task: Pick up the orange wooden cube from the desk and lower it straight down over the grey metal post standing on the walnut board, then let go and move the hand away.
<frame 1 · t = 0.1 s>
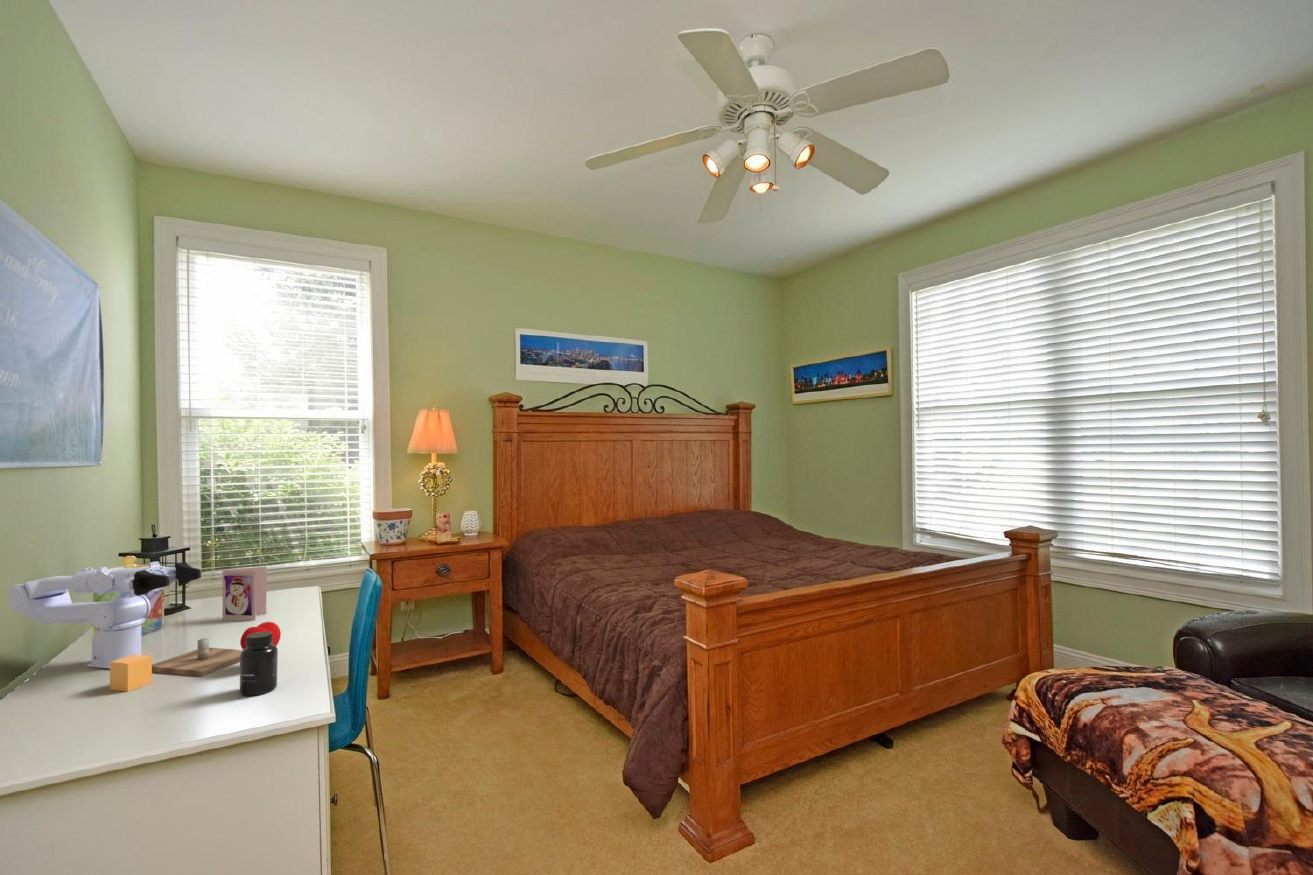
hand: (184, 577, 146), 22 cm above the table, tool horizontal, fingers open, 7 cm apart
orange wooden cube: (131, 686, 135), on the table
post board: (203, 663, 149), on the table
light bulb: (260, 667, 147), on the table
greeting card: (246, 617, 190), on the table
supplement bottle: (258, 691, 132), on the table
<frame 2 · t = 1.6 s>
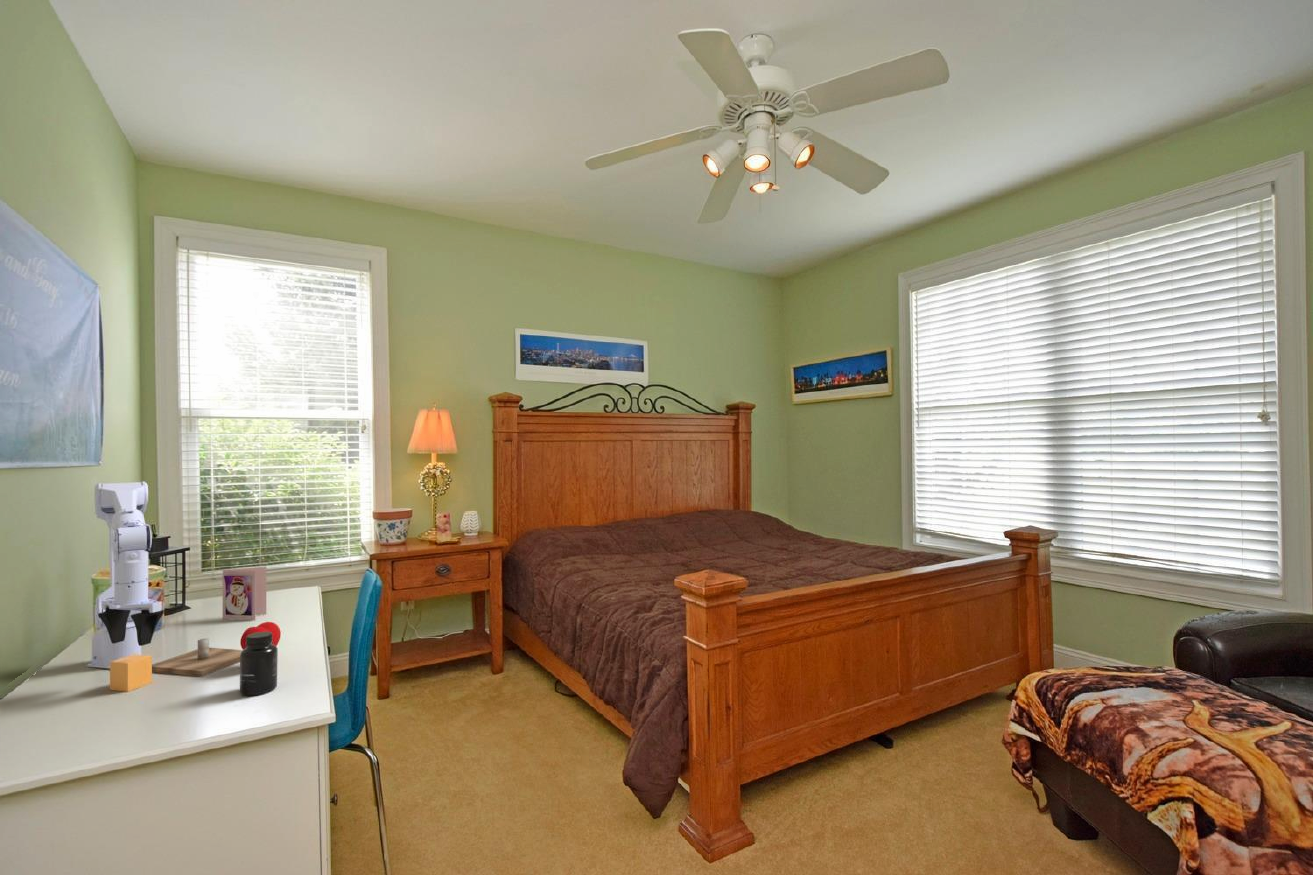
hand: (131, 643, 135), 9 cm above the table, tool pointing down, fingers open, 7 cm apart
nothing on the table moved.
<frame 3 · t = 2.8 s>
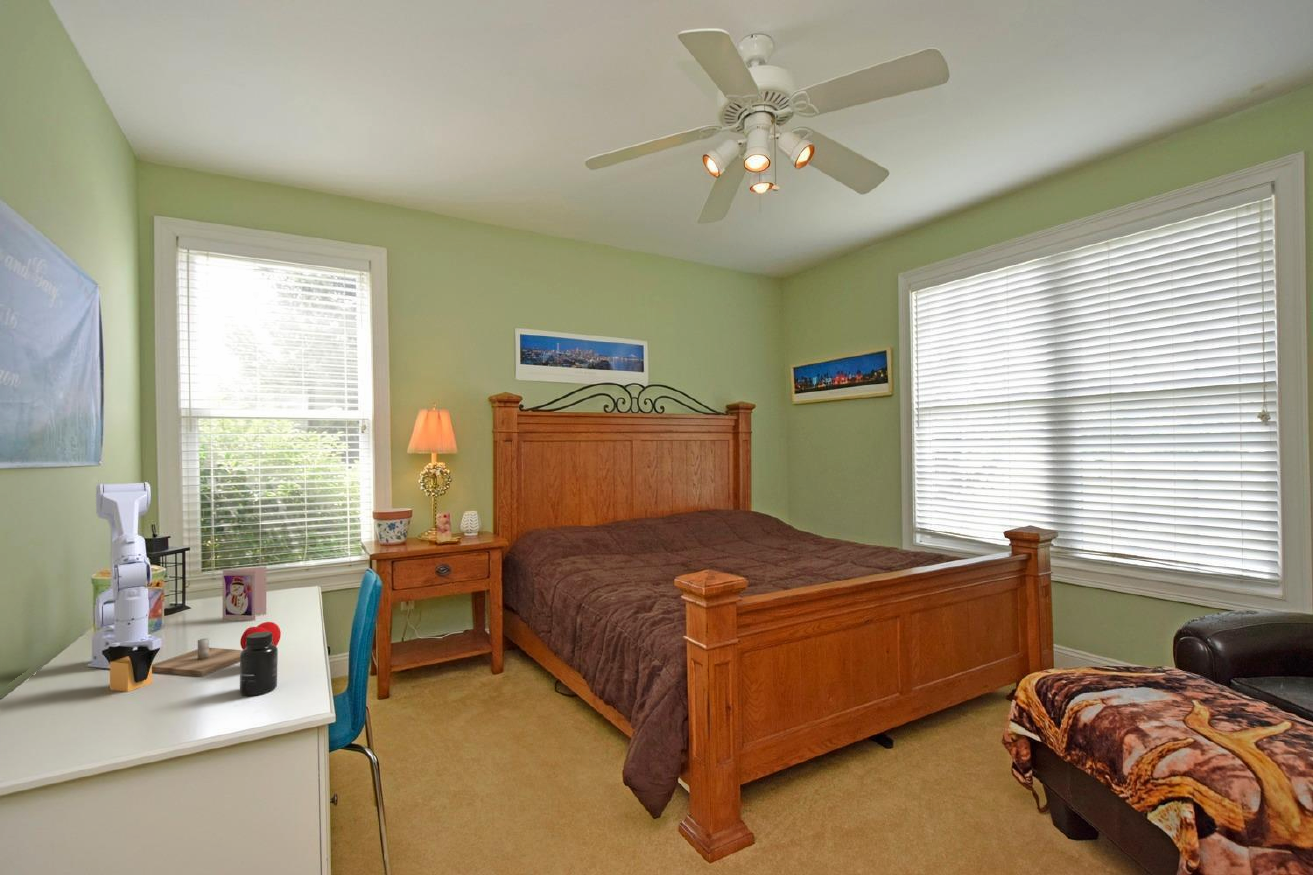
hand: (131, 679, 135), 1 cm above the table, tool pointing down, fingers closed on orange wooden cube, 5 cm apart
orange wooden cube: (131, 686, 135), on the table, touching gripper
everything else where it was.
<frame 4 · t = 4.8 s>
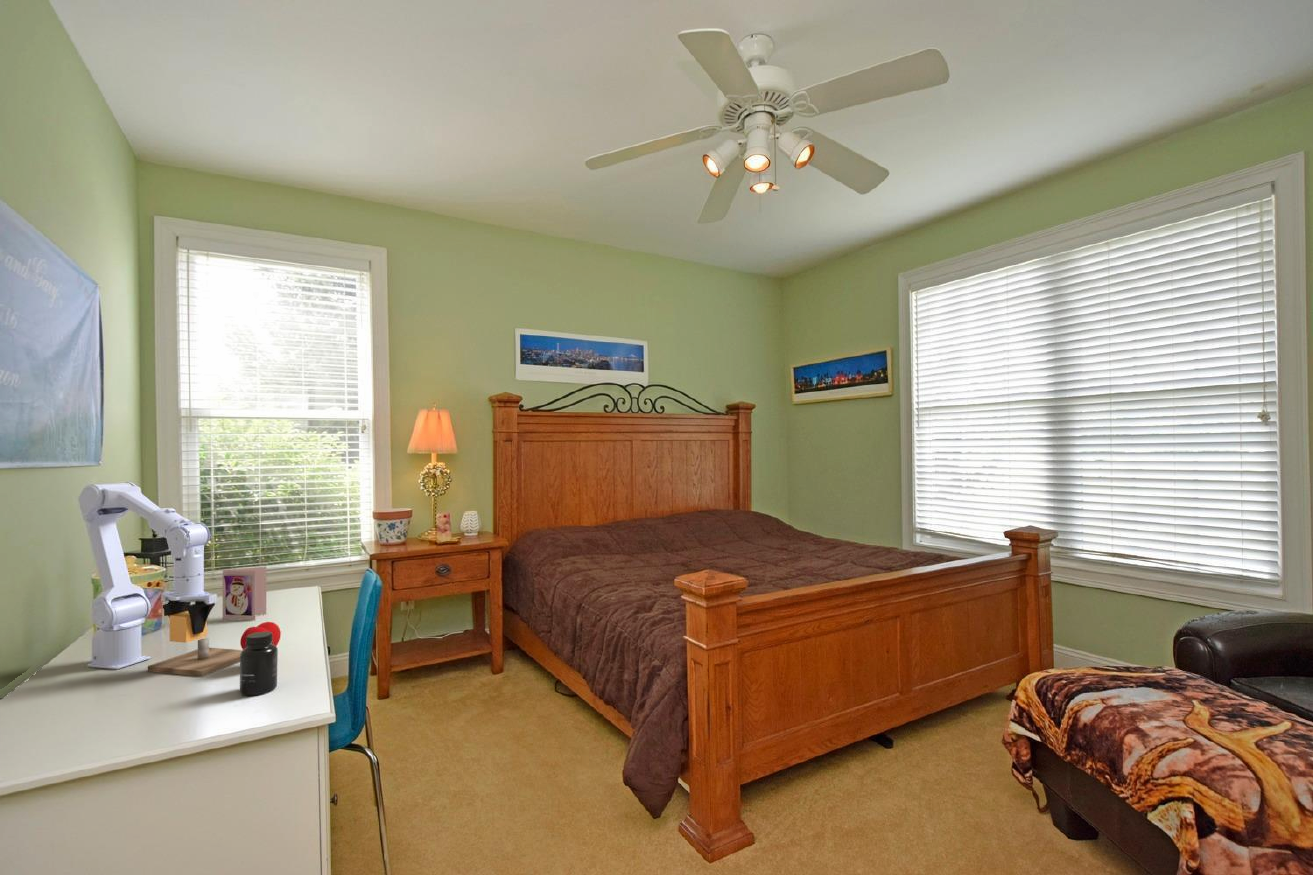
hand: (188, 632, 146), 8 cm above the table, tool pointing down, fingers closed on orange wooden cube, 5 cm apart
orange wooden cube: (188, 638, 146), point 7 cm above the table, touching gripper
everything else where it was.
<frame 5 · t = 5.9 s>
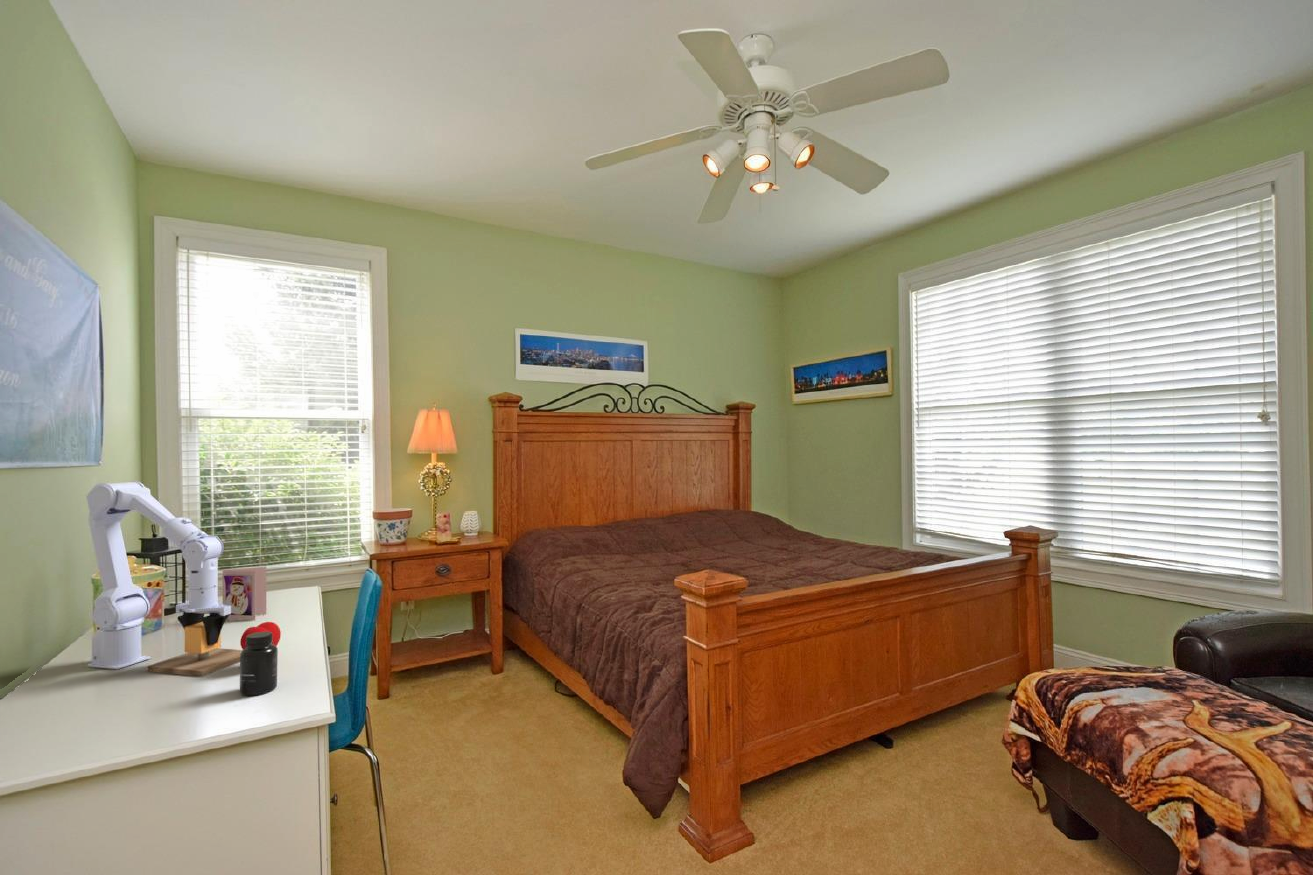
hand: (203, 643, 149), 5 cm above the table, tool pointing down, fingers closed on orange wooden cube, 5 cm apart
orange wooden cube: (202, 649, 149), point 3 cm above the table, touching gripper
everything else where it was.
when the fingers open (4 cm above the table, at t = 6.7 s): orange wooden cube stays where it is, resting on post board.
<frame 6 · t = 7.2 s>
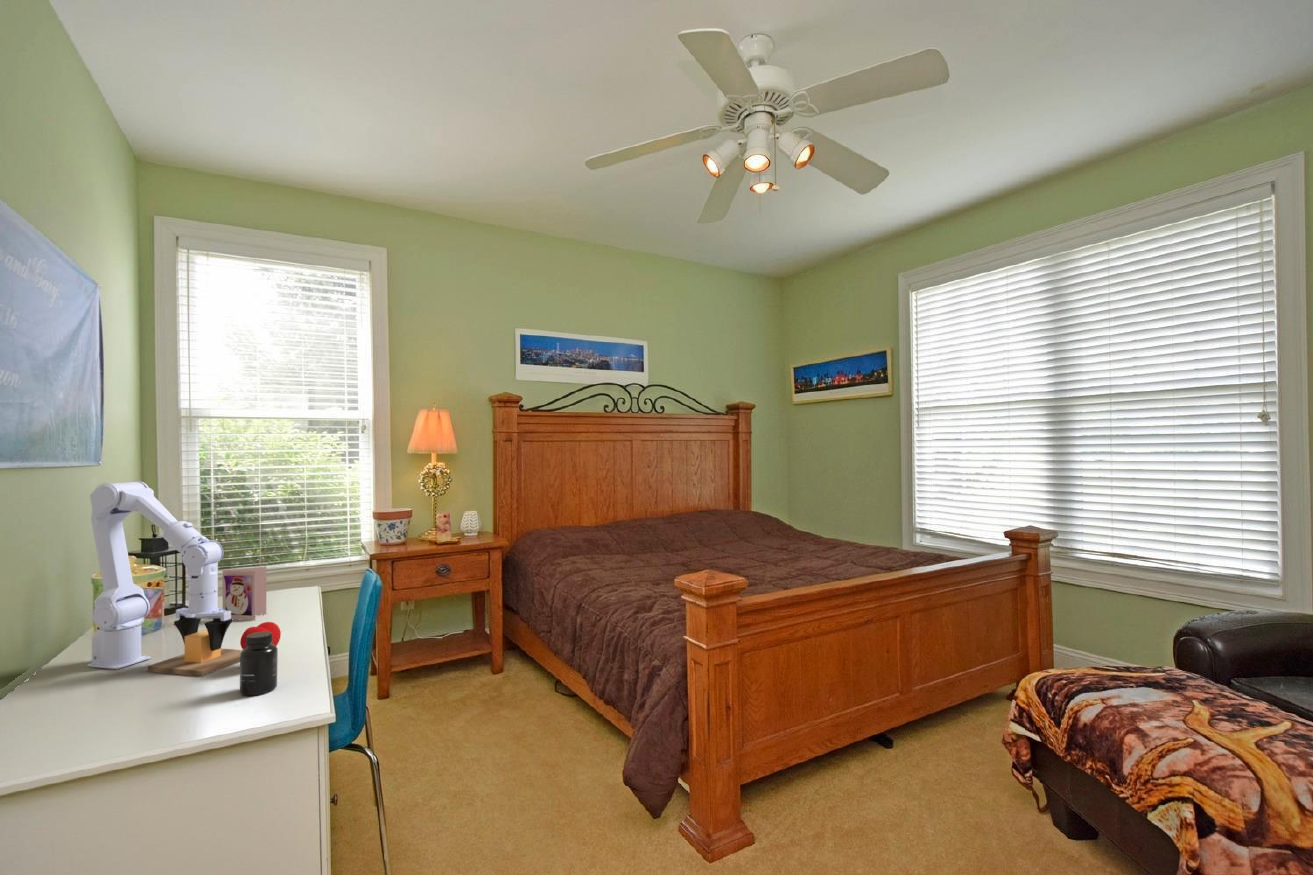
hand: (203, 648, 149), 4 cm above the table, tool pointing down, fingers open, 7 cm apart
orange wooden cube: (202, 658, 149), point 1 cm above the table, touching post board
everything else where it was.
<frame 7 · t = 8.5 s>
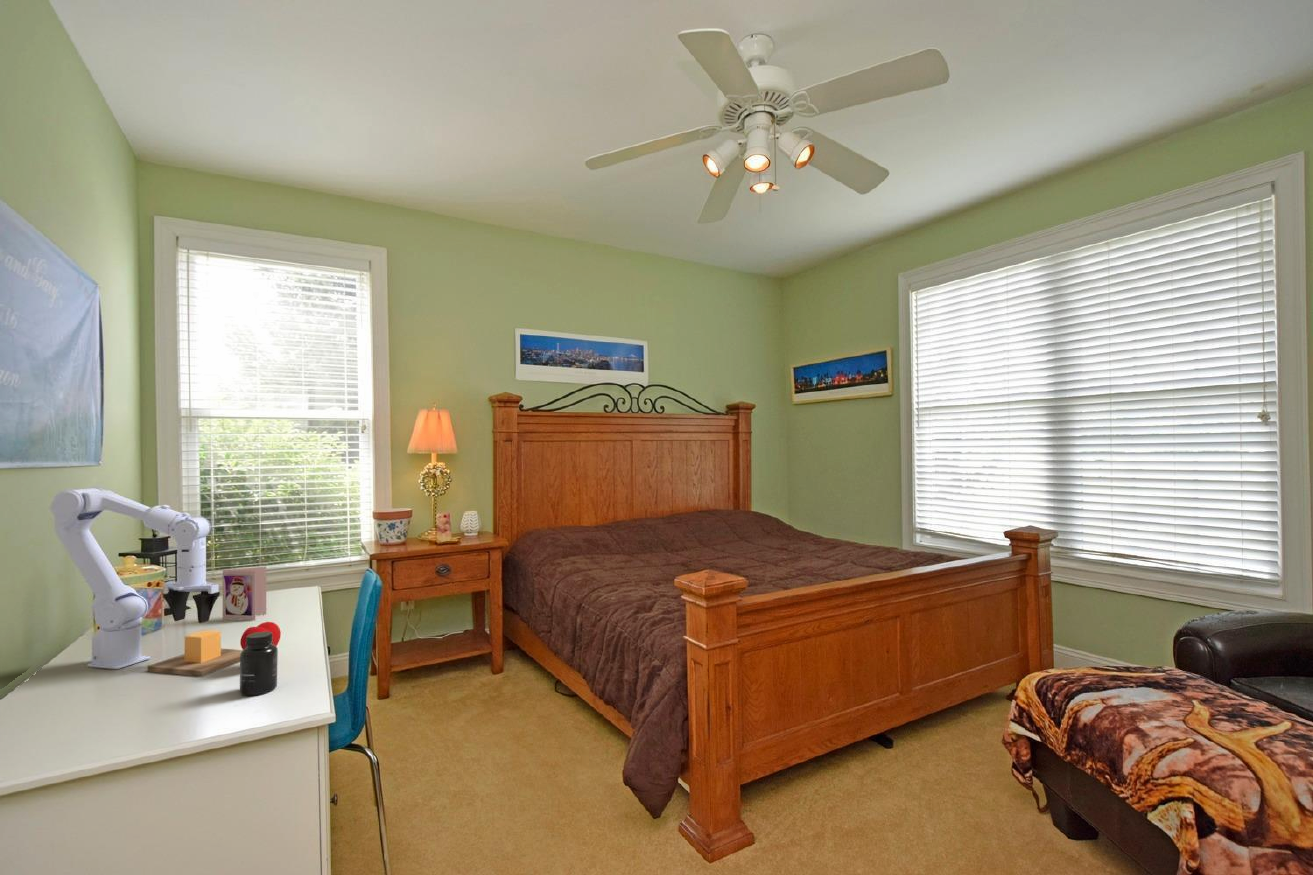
hand: (191, 620, 153), 9 cm above the table, tool pointing down, fingers open, 7 cm apart
nothing on the table moved.
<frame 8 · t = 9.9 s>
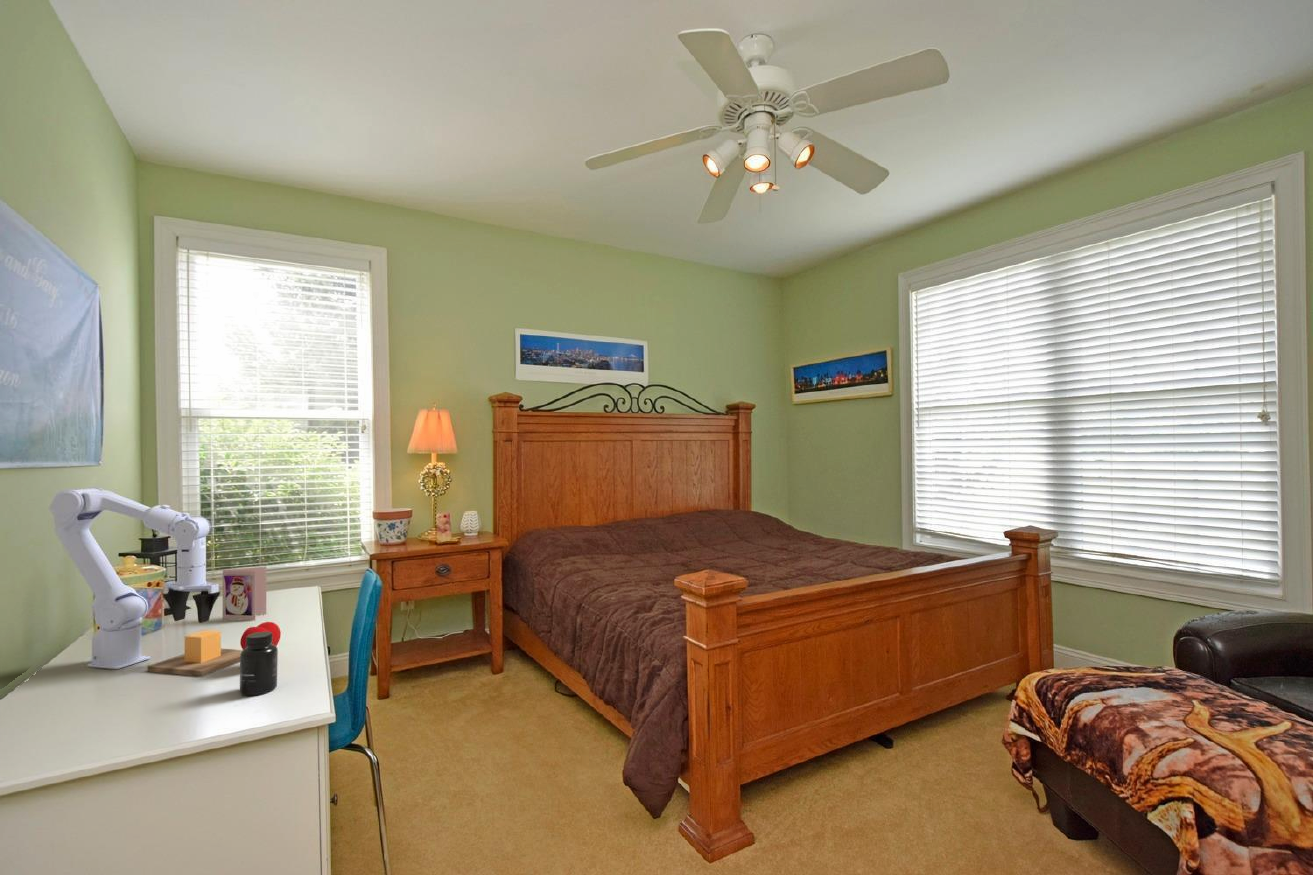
hand: (191, 620, 153), 9 cm above the table, tool pointing down, fingers open, 7 cm apart
nothing on the table moved.
at the end: orange wooden cube 0.1 cm off-centre on the post board, point 1.2 cm above the post board's base; orange wooden cube tilted 0°; the gripper is holding nothing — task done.
